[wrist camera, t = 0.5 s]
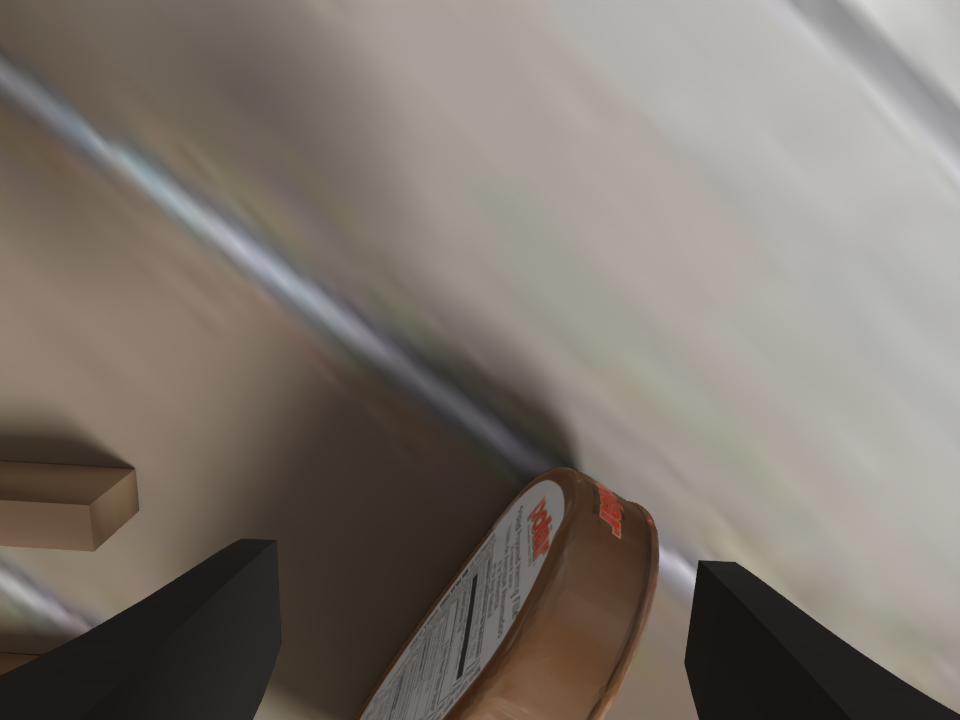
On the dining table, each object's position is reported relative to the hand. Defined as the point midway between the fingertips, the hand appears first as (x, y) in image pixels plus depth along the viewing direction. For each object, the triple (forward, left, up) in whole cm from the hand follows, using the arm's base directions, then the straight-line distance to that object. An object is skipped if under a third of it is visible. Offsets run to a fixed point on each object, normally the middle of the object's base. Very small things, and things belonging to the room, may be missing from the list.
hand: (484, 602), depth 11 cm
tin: (-7, 0, -10) cm, 12 cm away
